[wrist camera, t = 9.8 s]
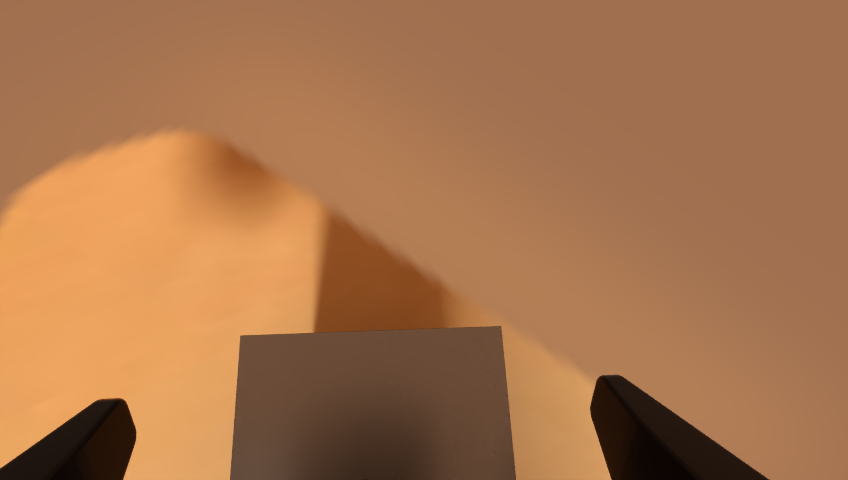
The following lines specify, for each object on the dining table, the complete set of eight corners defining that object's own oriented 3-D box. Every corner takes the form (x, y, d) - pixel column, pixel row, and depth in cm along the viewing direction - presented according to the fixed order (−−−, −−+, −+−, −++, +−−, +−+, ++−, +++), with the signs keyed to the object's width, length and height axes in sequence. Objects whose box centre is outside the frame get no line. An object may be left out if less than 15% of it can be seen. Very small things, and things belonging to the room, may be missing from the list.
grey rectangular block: (453, 508, 20) (530, 630, 9) (305, 519, 19) (217, 661, 9) (444, 359, 21) (501, 326, 11) (310, 365, 21) (240, 335, 11)
